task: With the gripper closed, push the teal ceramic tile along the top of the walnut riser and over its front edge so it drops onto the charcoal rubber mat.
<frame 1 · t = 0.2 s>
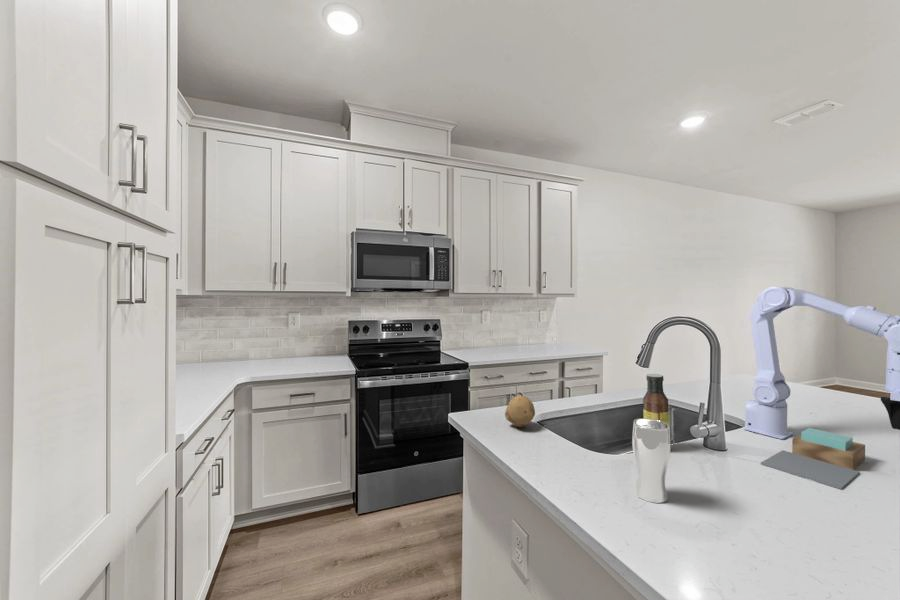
sauce bottle: (656, 448, 101), on the countertop
mat: (808, 468, 89), on the countertop
tan round lump: (520, 428, 117), on the countertop
tile: (826, 442, 95), point 4 cm above the countertop, touching riser
riser: (827, 457, 95), on the countertop
beer glass: (650, 496, 77), on the countertop
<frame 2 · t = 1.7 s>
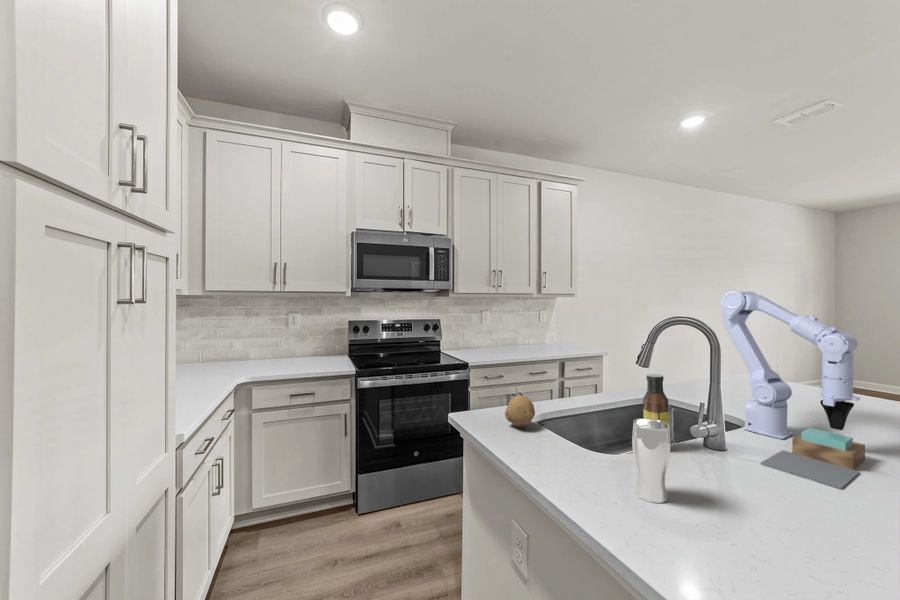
hand: (836, 428, 99), 6 cm above the countertop, tool pointing down, fingers closed
nothing on the countertop moved.
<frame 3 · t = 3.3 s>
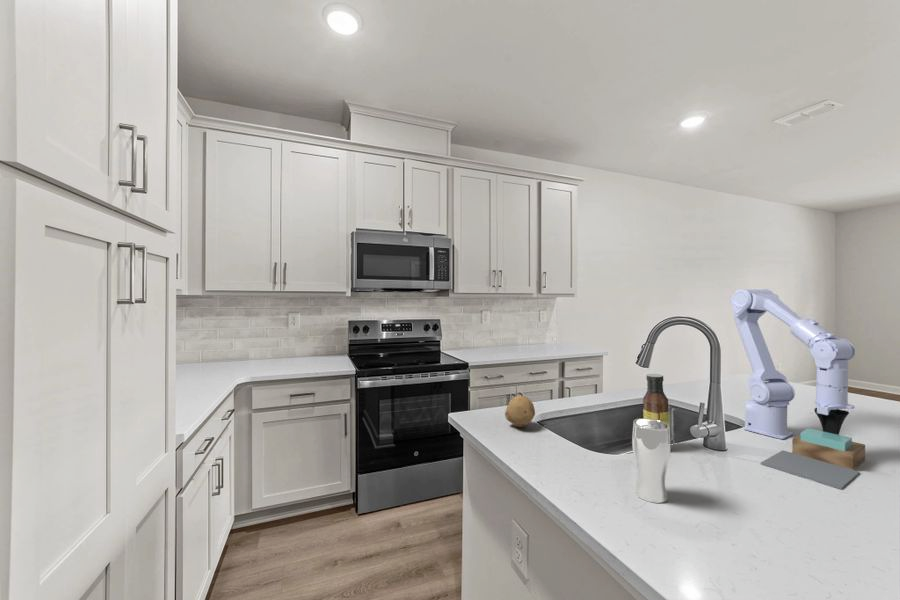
hand: (831, 437, 97), 5 cm above the countertop, tool pointing down, fingers closed
tile: (825, 443, 94), point 4 cm above the countertop, touching gripper
everything else where it was.
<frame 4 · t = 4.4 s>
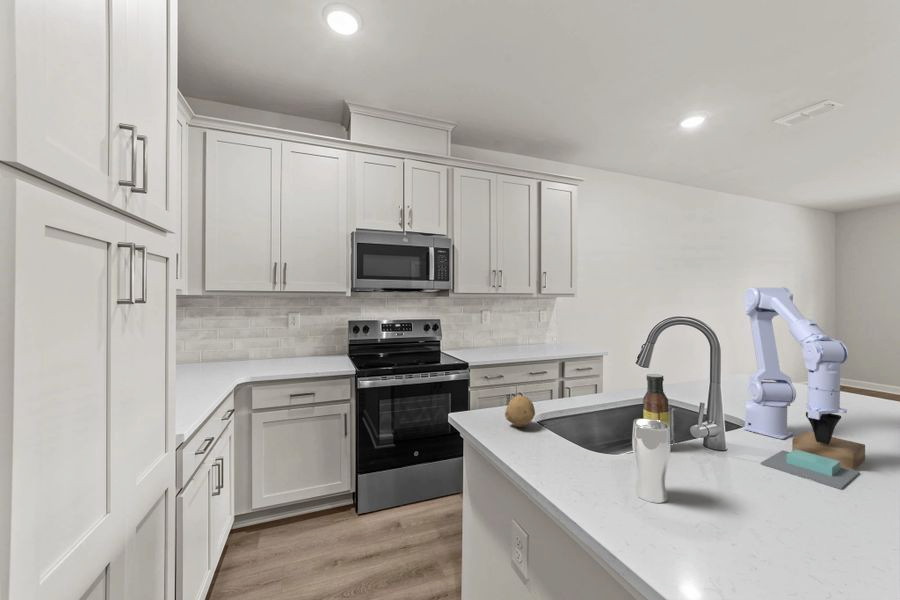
hand: (822, 442, 93), 5 cm above the countertop, tool pointing down, fingers closed
tile: (812, 457, 90), point 2 cm above the countertop, tilted 180°, touching mat
everything else where it was.
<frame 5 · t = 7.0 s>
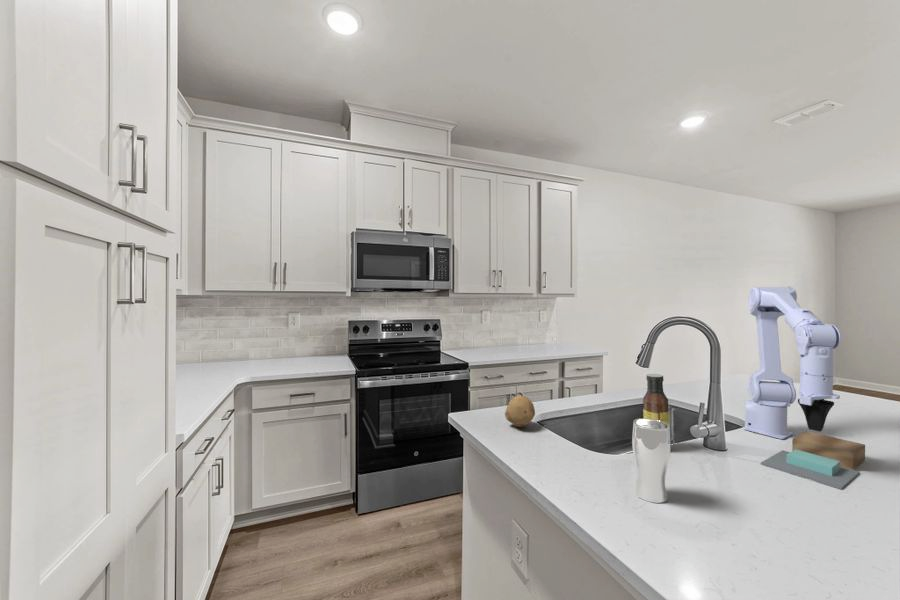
hand: (815, 429, 90), 9 cm above the countertop, tool pointing down, fingers closed
nothing on the countertop moved.
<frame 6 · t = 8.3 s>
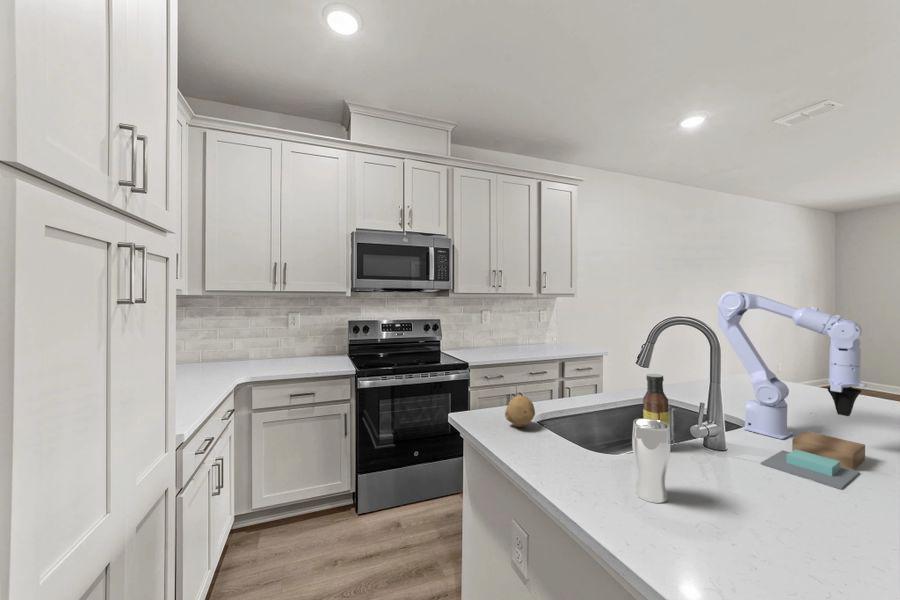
hand: (843, 415, 100), 9 cm above the countertop, tool pointing down, fingers closed
nothing on the countertop moved.
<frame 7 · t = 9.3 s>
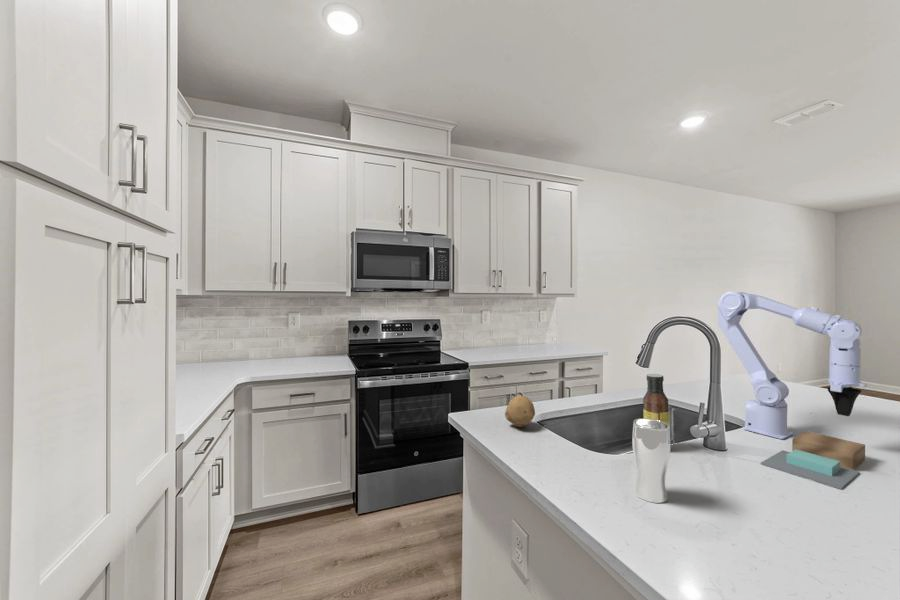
hand: (843, 415, 100), 9 cm above the countertop, tool pointing down, fingers closed
nothing on the countertop moved.
at the end: tile inside the target area (1.4 cm from its centre), point 2.4 cm above the countertop; tile point 2.4 cm above the countertop; the gripper is holding nothing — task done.
